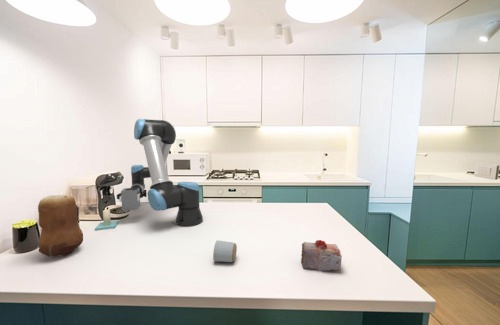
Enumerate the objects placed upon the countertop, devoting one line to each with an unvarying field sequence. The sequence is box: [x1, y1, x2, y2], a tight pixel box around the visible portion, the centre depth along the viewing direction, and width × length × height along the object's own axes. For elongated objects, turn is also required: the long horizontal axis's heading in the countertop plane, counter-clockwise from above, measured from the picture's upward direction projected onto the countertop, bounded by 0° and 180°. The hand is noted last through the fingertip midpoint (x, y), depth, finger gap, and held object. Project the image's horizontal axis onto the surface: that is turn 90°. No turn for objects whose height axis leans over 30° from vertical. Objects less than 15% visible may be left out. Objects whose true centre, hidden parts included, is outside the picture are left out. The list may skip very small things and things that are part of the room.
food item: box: [300, 239, 343, 272], centre depth 80 cm, size 14×8×10 cm, turn 83°
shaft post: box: [94, 208, 120, 231], centre depth 118 cm, size 9×9×9 cm
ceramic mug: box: [212, 240, 238, 263], centre depth 86 cm, size 11×8×8 cm
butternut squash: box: [37, 194, 84, 258], centre depth 88 cm, size 14×13×25 cm
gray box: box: [120, 187, 141, 212], centre depth 123 cm, size 8×8×11 cm
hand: (129, 198), depth 119 cm, fingers closed on gray box, 8 cm apart
